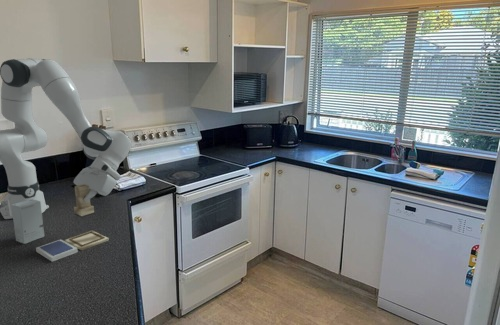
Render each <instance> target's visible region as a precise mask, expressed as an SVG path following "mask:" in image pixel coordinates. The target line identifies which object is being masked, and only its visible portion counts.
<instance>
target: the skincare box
mask: <svg viewBox="0 0 500 325" xmlns="http://www.w3.org/2000/svg"><path fill="white" fill-rule="evenodd" d="M11 207H12V214H13V218H12V219H13V220H12V221H13V226H14V228H13V230H14V236H15V241H16V242H18V243H20V244H24V245H26V244H28V243H29V244H30V243H31V242H33V241H36V240H39V239H41V238H42V239H43V238H44V237H45V230H44V223H43V222H44V219H43V213H42V211H41V203H40V201H37V200H33V199H32V200H27V201H23V202H19V203H16V204H12V205H11Z"/></svg>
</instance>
